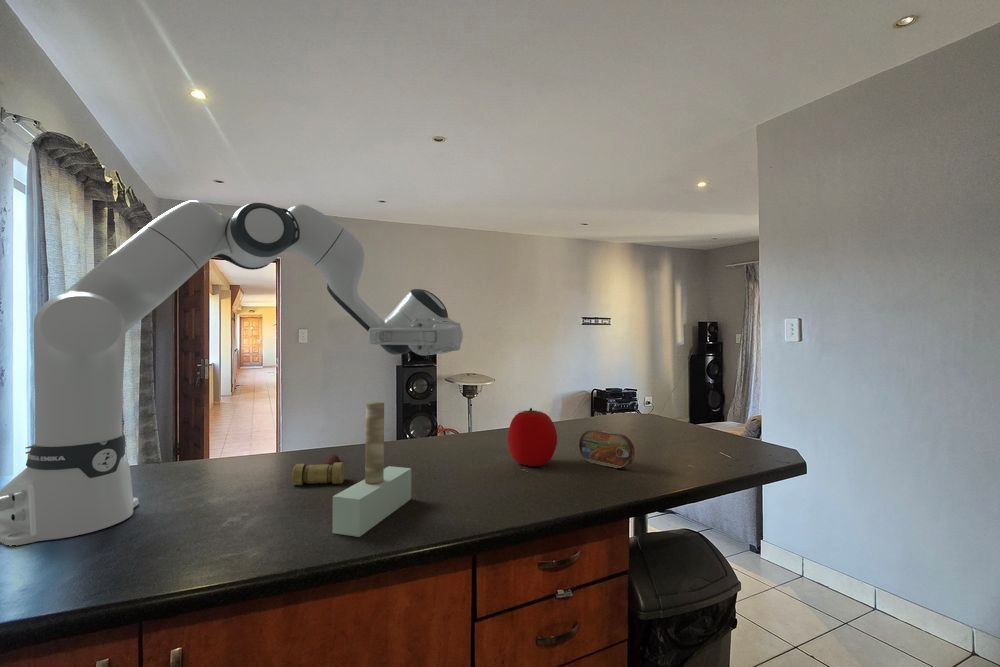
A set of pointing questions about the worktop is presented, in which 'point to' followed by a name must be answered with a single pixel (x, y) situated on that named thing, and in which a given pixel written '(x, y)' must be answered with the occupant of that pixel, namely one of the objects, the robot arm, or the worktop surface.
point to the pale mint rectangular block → (370, 502)
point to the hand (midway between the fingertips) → (396, 336)
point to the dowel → (374, 443)
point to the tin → (607, 447)
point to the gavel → (319, 472)
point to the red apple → (532, 438)
